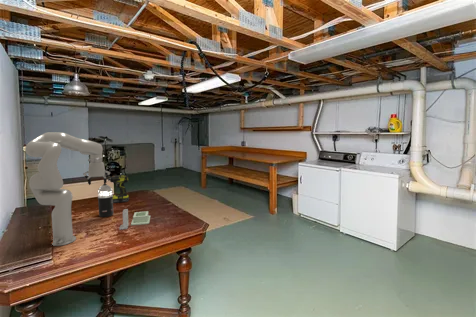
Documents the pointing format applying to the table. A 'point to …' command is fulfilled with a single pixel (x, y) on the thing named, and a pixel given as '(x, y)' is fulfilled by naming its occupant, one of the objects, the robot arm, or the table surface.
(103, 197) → the black silver cylindrical canister
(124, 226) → the bracket
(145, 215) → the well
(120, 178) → the power drill
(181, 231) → the table surface
